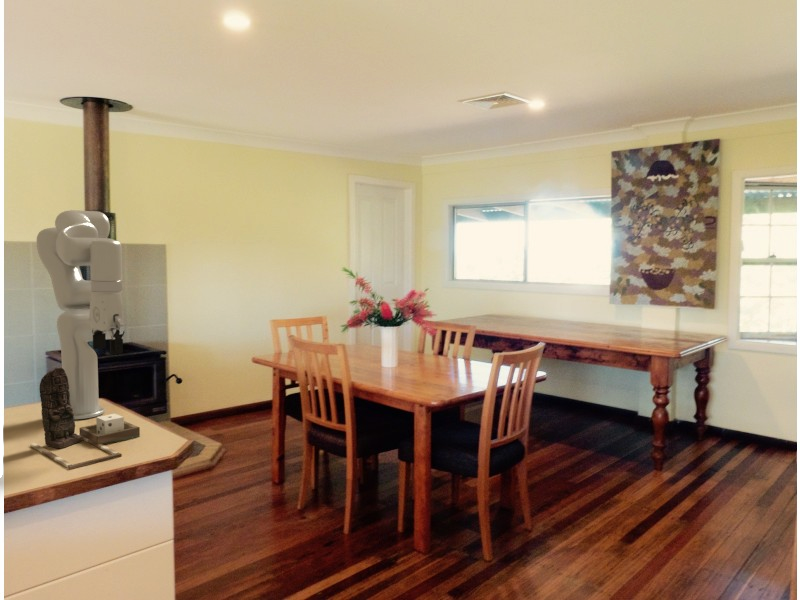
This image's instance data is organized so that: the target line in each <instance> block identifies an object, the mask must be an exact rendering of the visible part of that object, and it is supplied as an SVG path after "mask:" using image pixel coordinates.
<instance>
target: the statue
mask: <svg viewBox="0 0 800 600" xmlns="http://www.w3.org/2000/svg"><path fill="white" fill-rule="evenodd" d="M68 390H69V383H68V377H67V375H66V373H65V370H64V369H63V368H62V367H55V368H52V369H51V370H49V371H47V373H45V374H44V375H43V376H42V377H41V379H40V382H39V398H40V404H41V406H40V407H41V418H42V420H41V421H42V427H43V431H44V442H45V445H46V446H48V447H51V448H55V449H62V448H68V447H69V446H72V445H74V444H77V443H80V442H82V441H83V440H82V437H81V436H79V435H77V433H75V430H76V422H75V420H74V417H73V416H74V412H73V409H72V408H73V407H72V406H71V405H70V399H69V398H70V392H69V391H68Z"/></svg>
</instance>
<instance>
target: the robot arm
mask: <svg viewBox="0 0 800 600" xmlns="http://www.w3.org/2000/svg"><path fill="white" fill-rule="evenodd" d="M110 230H111V224H110V220H109V218H108V217H107V215H106V214H105V213H103V212H101V211H97V210H96V211H92V210H75V209H74V210H72V209H71V210H64V211H62V212H61V213H58V215H57V216H56V217H55V221H54V227H47V228H44V229H41V230H40V231H39V232H38V234H37V236H36V249H37V253H38V257H39V258H40V261H41V263H42V264H43V266H44V268H45V269H46V271H47V272H48V274H49V276H50V280H51V284H52V288H53V293H54V296H55V300H56V303H57V306H58V308H59V309H60V310H61V311H63V313H61V314H60V315H59V316H58V317H57V320H56V328H57V335H58V337H59V343H60V351H61V352H60V353H61V354H60V355H61V368H63V369H64V370H65V373H66V375H67V377H68V383H69V390H68V391H69V392H70V398H69V399H70V405H71V406H72V407H73V408H72V409H73V412H74V416H73V417H74V421H75V420H85V419H91V418H96V417H100V416H102V414H104V413H105V407H104V406H102V405H100V404H99V400H100V399H99V368H98V364H99V363H98V362H99V361H98V355H97V352H96V351H95V350H99V349H106V347H107V346H106V345H107V343H106V342H107V340H109V354H110V355H111V356H113V355H122V354H123V353H124V335H125V328H126V323H125V322H124V308H123V299H122V293H123V247H122V243H121V242H120V241H118V240H115V239H113V238H109V235H110V233H111V231H110ZM87 266H88V267H90V269H89V270H90V280H85V279H84V278H83V275H82V271H81V268H80V267H87ZM89 342H92V346H90V345H89Z"/></svg>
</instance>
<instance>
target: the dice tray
mask: <svg viewBox="0 0 800 600" xmlns="http://www.w3.org/2000/svg"><path fill="white" fill-rule="evenodd" d="M140 431H141V430H140V426H137V425H134V424H133V423H131V422H128V421H125V420H124V430H120V431H116V432H111V433H107V434H102V435H99V434H97V424H96V423H95V424H91V425H87V426H81V427H79V433H80V435H81V436H83V437H85V438H87V439H89V440H91V441H93V442H95V443H97V444H102V445H104V446H107V445H110V444H114V443H117V442H118V443H119V442H122V441H126V440H130V439H135V438H138V437H139V438H140V436H141V434H140Z"/></svg>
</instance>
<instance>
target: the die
mask: <svg viewBox="0 0 800 600" xmlns="http://www.w3.org/2000/svg"><path fill="white" fill-rule="evenodd" d="M95 418H96V419H95V421H96V423H95V424H97V434H99V435H102V434H107V433H111V432H116V431H120V430H124V421H125V417H124V416H122V415H120V414H118V413H111V414H104V415H99V416H96V417H95Z"/></svg>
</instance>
